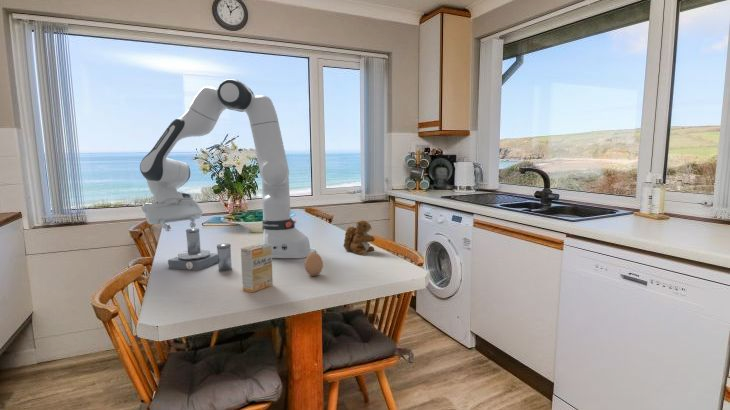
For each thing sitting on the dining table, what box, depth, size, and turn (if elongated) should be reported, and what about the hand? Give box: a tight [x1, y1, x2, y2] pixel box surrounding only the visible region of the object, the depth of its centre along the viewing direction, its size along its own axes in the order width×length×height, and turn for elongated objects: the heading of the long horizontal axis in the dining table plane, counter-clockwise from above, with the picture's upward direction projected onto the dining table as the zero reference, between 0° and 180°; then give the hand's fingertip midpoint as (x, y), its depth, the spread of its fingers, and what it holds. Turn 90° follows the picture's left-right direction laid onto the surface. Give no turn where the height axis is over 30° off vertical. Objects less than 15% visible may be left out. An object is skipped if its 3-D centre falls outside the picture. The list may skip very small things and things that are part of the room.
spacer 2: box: [216, 242, 233, 272], centre depth 136 cm, size 5×5×9 cm
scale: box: [167, 252, 218, 271], centre depth 143 cm, size 13×13×3 cm
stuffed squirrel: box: [342, 219, 376, 256], centre depth 159 cm, size 10×14×13 cm
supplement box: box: [240, 242, 274, 293], centre depth 116 cm, size 8×5×13 cm, turn 148°
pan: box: [177, 249, 211, 260], centre depth 143 cm, size 11×11×1 cm
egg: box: [304, 252, 324, 277], centre depth 128 cm, size 6×6×8 cm
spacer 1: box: [185, 227, 202, 255], centre depth 142 cm, size 5×5×9 cm
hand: (181, 228), depth 147 cm, fingers open, 8 cm apart
